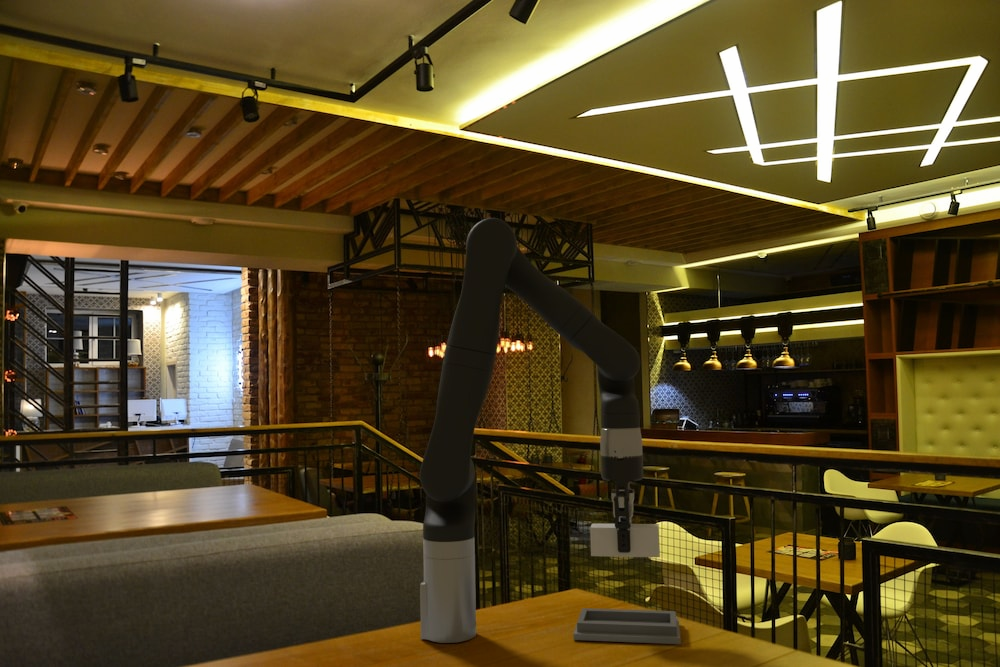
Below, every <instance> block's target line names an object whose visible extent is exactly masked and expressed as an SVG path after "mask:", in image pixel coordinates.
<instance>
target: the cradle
mask: <svg viewBox="0 0 1000 667" xmlns="http://www.w3.org/2000/svg"><path fill="white" fill-rule="evenodd" d="M676 612H677V611H675V610H674V611H673V610H647V609H646V610H645V609H644V610H643V609H621V608H620V609H619V608H618V609H617V608H614V609H613V608H588V607H587V608H586V607H585V608H584V607H582V608H581V610H580V612H579V616H578V619H577V621H576V625H575V628H574V631H573V641H592V642H593V641H594V642H595V641H596V642H618V643H619V642H622V643H640V644H642V643H645V644H663V645H665V644H666V645H681V644H682V643H681V630H680V621H679V617H677V615H676V614H677V613H676Z"/></svg>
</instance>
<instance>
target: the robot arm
mask: <svg viewBox="0 0 1000 667" xmlns="http://www.w3.org/2000/svg"><path fill="white" fill-rule="evenodd" d="M468 232H469V233H468V234H467V238H466V244H465V248H466V250H465V251H466V252H465V263H464V271H463V272H464V273H463V280H462V288H461V293H460V296H459V299H458V303H457V306H456V309H455V312H454V315H453V318H452V323H451V325H450V328H449V329H450V330H449V334H448V337H447V341H446V345H445V346H446V347H445V350H444V354H443V355H444V356H443V360H442V366H441V373H440V379H439V385H438V393H437V400H436V408H435V410H436V411H435V417H434V422H433V426H432V430H431V433H430V436H429V440H428V442H427V446H426V449H425V452H424V455H423V458H422V461H421V465H420V468H419V481H420V485H421V488H422V490H423V491H424V492H425V513H424V519H423V524H422V543H423V544H422V549H423V552H422V553H423V556H422V557H423V581H422V582H421V583H420V585H419V586H420V587H419V594H420V595H419V598H420V599H419V600H420V605H419V608H420V611H419V613H420V640H427V641H430V642H434V643H440V644H453V643H462V642H466V641H468V640H472V639H473V638H475V637H476V636H477V612H476V610H477V607H476V606H477V605H476V604H477V603H476V602H477V601H476V553H475V552H476V551H475V550H476V549H475V523H476V515H477V514H476V510H477V509H476V503H477V502H476V501H477V500H476V497H477V496H476V495H477V494H476V493H477V492H476V469H475V464H474V461H473V459H472V447H473V441H474V434H475V430H476V429H475V428H476V424H477V421H478V418H479V415H480V412H481V410H482V407H483V405H484V403H485V400H486V398H487V394H488V392H489V388H490V384H491V382H492V376H493V373H494V369H495V368H494V367H495V363H496V356H497V351H498V344H499V336H500V326H501V325H500V324H501V305H502V297H503V294H504V293H503V292H504V288H505V287H506V288H508V289H509V291H511V292H512V293H513V294H516V296H518V297H519V298H520V299H521V300H522V301H524V302H525V304H527V305H528V306H529V307H530V308H531V309H532V310H533V311H534V312H535V313H536V314H537V315H538V316H539V317H540V318H541V319H542V320H543V321H544V322H545V323H546V324H548V326H550V327H551V328H552V330H554V331H555V332H556V333H557V334H558V335H559V336H560V337H561V338H562V339H564V340H565V342H567V343H568V344H569V345H570V346H571V347H573V348H574V349H576V350H578V351H580V352H581V353H583V354H584V355H585V356H586V357H587V358H589V359H590V360H591V361H592V362H593V363H594V364H596V373H597V374H596V375H597V381H598V382H597V383H598V389H599V395H600V441H599V442H600V444H599V446H600V448H599V449H600V475H601V479H602V480H604V481H608V482H614V484H615V486H614V487H615V489H614V488H613V489H612V490H611V494H610V495H611V496H610V499H611V501H612V515H613V518H614V524H615V528H616V531H617V541H618V551H619V552H620V553H629V552H630V550H631V547H630V529H631V524H633V520H632V519H633V515H634V512H635V511H634V500H635V489H632V488H631V487H630V484H631V483H630V482H637V481H641V480H643V478H644V456H643V454H644V453H643V439H642V438H643V437H642V432H641V415H640V404H639V400H638V398H637V397H636V394H635V392H636V390H635V388H636V387H635V386H636V385H635V377H636V375H637V374H638V372H639V371H640V368H641V358H640V355H639V353H638V351H637V349H636V348H635V347H634V346H633V345H632V344H631V343H630V342H629V341H627V340H626V339H625V338H624V337H622V336H621V334H618V333H617V332H616V331H615V330H613V329H611V328H610V327H609V326H607V325H606V324H604V323H603V322H602V321H601V320H600V319H599V318H598V317H597V316H596V315H595V314H594V313H593V312H592V311H591V310H590V309H589V308H587V306H586V305H584V304H583V303H582V302H581V301H579V300H578V299H577V298H576V297H575V296H574V295H572V293H570V292H568V291H567V290H566V289H565V288H564V287H562V286H560V285H559V284H557V283H556V282H555V281H553V280H552V279H550V278H549V277H548V276H546V275H545V274H544V273H543V272H541V271H540V269H538V268H537V267H536V266H535V265H534V264H533V263H532V262H531V261H530V260H529V259H528V257H527V256H526V255H525V254H524V253H523V251H521V249H520V247H518V241H517V236H516V233H515V232H514V230H513V228H512V227H511V226H510V225H509V224H508V223H507V222H506V221H504V220H503V219H500V218H498V217H497V218H496V217H488V218H485V219H481V220H480V221H479V222H477V223H476V224H475V225H474V226H473V227H472V228H471V229H470V231H468Z"/></svg>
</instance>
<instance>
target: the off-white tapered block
mask: <svg viewBox="0 0 1000 667" xmlns="http://www.w3.org/2000/svg"><path fill="white" fill-rule="evenodd" d="M659 525H660V524H659V523H632V524H631V529H630V547H631V550H630V552H629V553H620V552H619V551H618V541H617V531H616V528H615V523H596V522H595V523H593V522H592V523H591V525H590V528H589V531H590V537H589V538H590V555H591V557H616V558H617V557H624V558H627V557H628V558H629V557H630V558H660V557H661V548H660V546H661V545H660V526H659Z"/></svg>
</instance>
